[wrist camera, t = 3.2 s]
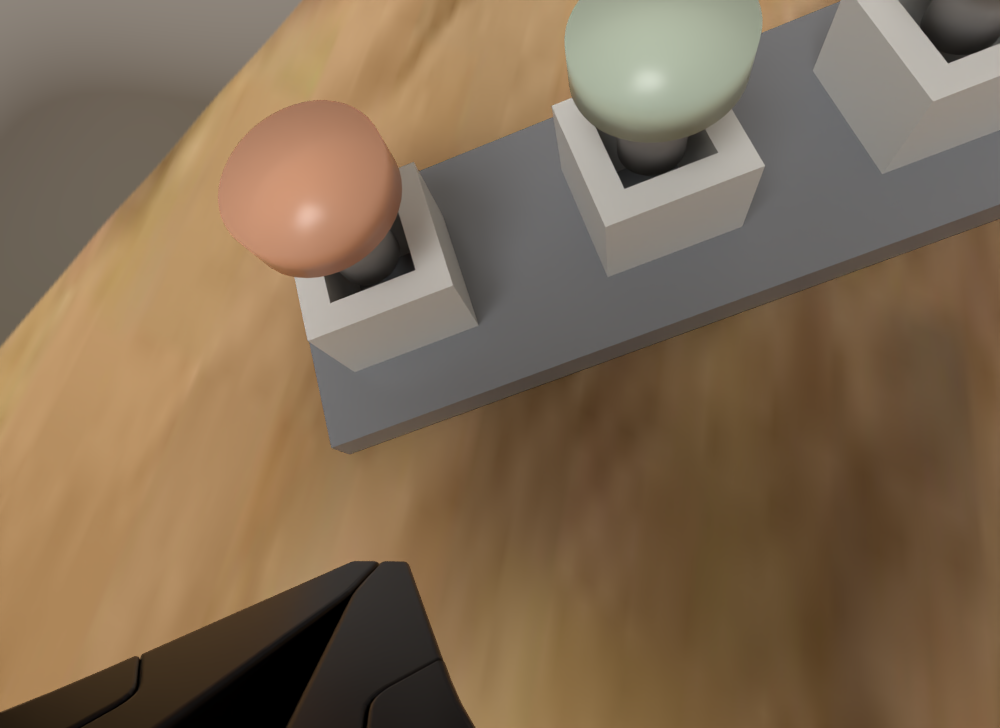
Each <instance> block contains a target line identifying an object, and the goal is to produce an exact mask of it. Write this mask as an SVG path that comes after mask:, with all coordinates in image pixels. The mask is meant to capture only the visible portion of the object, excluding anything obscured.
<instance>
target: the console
mask: <svg viewBox="0 0 1000 728" xmlns="http://www.w3.org/2000/svg"><path fill="white" fill-rule="evenodd" d="M931 2H932V0H841V1H840V2H837V3H835V4H832V5H830V6H827V7H825V8H823V9H820V10H818V11H815V12H813V13H810V14H808V15H805V16H803V17H800V18H798V19H795V20H793V21H790V22H788V23H785V24H783V25H780V26H778V27H775V28H773V29H770V30H768V31H766V32H763V33H761V36H760V41H759V44H758V48H757V52H756V55H755V59H754V63H753V66H752V70H751V74H750V77H749V81H748V83H747V86H746V88H745V91H744V92H743V94H742V96H741V98H740V99H739V100H738V102H737V103H736V104H735V106H734V107H733V108H732V109H731V110H730V111H729V112H728V113H727V114H726V115H725V116H724V117H722V118H721V119H720V120H719V121H717V122H716V123H714V124H713V125H711V126H709V127H708V128H706V129H704V130H702V131H700V132H698V133H696V134H693V135H690V136H688V141H687V147H686V152H685V154H684V157H683V158H682V160H681V161H680V162H679V163H678V164H677V165H676V166H675V167H674V168H673V169H671V170H669V171H667V172H665V173H662V174H658V175H652V176H646V175H640V174H636V173H634V172H632V171H630V170H628V169H627V168H626V167H625V166H623V164H622V163H621V162H620V160H619V158H618V155H617V137H614V136H612V135H609V134H607V133H605V132H603V131H601V130H599V129H598V128H597V127H595V126H594V125H592V124H591V123H590V122H589V121H588V120H587V119H586V118H584V116H583V115H582V114H581V113H580V111H579V110H578V108H577V107H576V105H575V103H574V101H573V98H570V99H568V100H565V101H563V102H560V103H558V104H555V105H553V106H552V111H553V117H552V118H550V119H547V120H545V121H542V122H540V123H537V124H535V125H532V126H530V127H528V128H525V129H523V130H520V131H518V132H515V133H513V134H510V135H508V136H505V137H503V138H500V139H498V140H495V141H493V142H490V143H488V144H485V145H483V146H480V147H478V148H475V149H473V150H471V151H468V152H466V153H463V154H461V155H458V156H456V157H453V158H451V159H448V160H446V161H443V162H441V163H438V164H436V165H433V166H431V167H428V168H426V169H423V170H421V171H418V169H417V167H416V165H415V163H414V162H412V163H410V164H407V165H405V166H402V167H400V168H399V171H400V175H401V179H402V197H401V203H400V207H399V211H398V213H397V216H396V219H395V221H394V223H393V225H392V227H391V229H390V230H391V232H392V233H393V234H394V236H395V237H396V239H397V241H398V243H399V247H400V256H399V260H398V263H397V265H396V267H395V269H394V270H393V271H392V273H391V274H390V275H389V276H388V277H386V278H385V279H384V280H382V281H380V282H378V283H376V284H372V285H365V286H363V285H356V284H354V283H352V282H350V281H348V280H347V279H346V278H345V277H344V276H343V275H342V274H341V273H340V272H337V273H334V274H331V275H327V276H322V277H316V278H298V277H295V282H296V287H297V292H298V296H299V301H300V306H301V311H302V316H303V320H304V325H305V330H306V335H307V340H308V342H309V343H310V348H311V353H312V357H313V362H314V367H315V372H316V377H317V381H318V386H319V391H320V396H321V400H322V405H323V410H324V415H325V420H326V424H327V429H328V434H329V439H330V444H331V448H333V449H336V450H339V451H341V452H344V453H347V454H352V453H354V452H357V451H360V450H363V449H365V448H368V447H371V446H374V445H376V444H379V443H382V442H385V441H387V440H390V439H393V438H396V437H399V436H401V435H404V434H407V433H410V432H412V431H415V430H418V429H421V428H423V427H426V426H429V425H432V424H434V423H437V422H440V421H443V420H445V419H448V418H451V417H454V416H456V415H459V414H462V413H465V412H467V411H470V410H473V409H476V408H479V407H481V406H484V405H487V404H490V403H492V402H495V401H498V400H501V399H503V398H506V397H509V396H512V395H514V394H517V393H520V392H523V391H525V390H528V389H531V388H534V387H536V386H539V385H542V384H545V383H548V382H550V381H553V380H556V379H559V378H561V377H564V376H567V375H570V374H572V373H575V372H578V371H581V370H583V369H586V368H589V367H592V366H594V365H597V364H600V363H603V362H605V361H608V360H611V359H614V358H616V357H619V356H622V355H625V354H628V353H630V352H633V351H636V350H639V349H641V348H644V347H647V346H650V345H652V344H655V343H658V342H661V341H663V340H666V339H669V338H672V337H674V336H677V335H680V334H683V333H685V332H688V331H691V330H694V329H696V328H699V327H702V326H705V325H708V324H710V323H713V322H716V321H719V320H721V319H724V318H727V317H730V316H732V315H735V314H738V313H741V312H743V311H746V310H749V309H752V308H754V307H757V306H760V305H763V304H765V303H768V302H771V301H774V300H777V299H779V298H782V297H785V296H788V295H790V294H793V293H796V292H799V291H801V290H804V289H807V288H810V287H812V286H815V285H818V284H821V283H823V282H826V281H829V280H832V279H834V278H837V277H840V276H843V275H845V274H848V273H851V272H854V271H857V270H859V269H862V268H865V267H868V266H870V265H873V264H876V263H879V262H881V261H884V260H887V259H890V258H892V257H895V256H898V255H901V254H903V253H906V252H909V251H912V250H914V249H917V248H920V247H923V246H925V245H928V244H931V243H934V242H937V241H939V240H942V239H945V238H948V237H950V236H953V235H956V234H959V233H961V232H964V231H967V230H970V229H972V228H975V227H978V226H981V225H983V224H986V223H989V222H992V221H994V220H997V219H1000V37H999V38H998V39H997V41H996V42H995V43H994V44H993V45H991V46H990V47H989V48H987V49H984V50H982V51H979V52H977V53H974V54H968V55H954V54H948V53H944V52H941V51H939V50H937V49H936V48H935V46H934V45H933V44H932V43H931V41H930V40H929V39H928V37H927V36H926V35H925V34H924V32H923V31H922V30H921V29H920V23H921V20H922V18H923V16H924V14H925V12H926V10H927V9H928V7H929V5H930V3H931Z"/></svg>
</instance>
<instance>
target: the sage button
mask: <svg viewBox="0 0 1000 728" xmlns="http://www.w3.org/2000/svg"><path fill="white" fill-rule="evenodd" d="M761 31H762V12H761V7H760V4H759V1H758V0H579V1H578V3H577V4H576V6H575V7H574V9H573V11H572V13H571V15H570V17H569V20H568V23H567V26H566V32H565V53H566V62H567V71H568V80H569V87H570V92H571V96H572V98H573V101H574V103H575V105H576V107H577V108H578V110H579V111H580V113H581V114H582V115H583V116H584V118H586V119H587V120H588V121H589V122H590V123H591V124H592V125H594V126H595V127H597V128H598V129H599V130H601V131H603V132H605V133H607V134H609V135H612V136H614V137H617V155H618V158H619V160H620V162H621V163H622V164H623V166H625V167H626V168H627V169H628V170H630V171H632V172H634V173H636V174H640V175H646V176H652V175H658V174H662V173H665V172H667V171H669V170H671V169H673V168H674V167H675V166H676V165H677V164H678V163H679V162H680V161H681V160H682V158H683V157H684V154H685V152H686V147H687V141H688V136H690V135H693V134H696V133H698V132H700V131H702V130H704V129H706V128H708V127H709V126H711V125H713V124H714V123H716V122H717V121H719V120H720V119H721V118H722V117H724V116H725V115H726V114H727V113H728V112H729V111H730V110H731V109H732V108H733V107H734V106H735V104H736V103H737V102H738V100H739V99H740V98H741V96H742V94H743V92H744V91H745V88H746V86H747V83H748V81H749V77H750V74H751V70H752V66H753V63H754V59H755V55H756V52H757V48H758V44H759V41H760V36H761Z"/></svg>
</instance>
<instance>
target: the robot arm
mask: <svg viewBox="0 0 1000 728" xmlns="http://www.w3.org/2000/svg"><path fill="white" fill-rule="evenodd" d="M0 728H475V726H474V724H473V723H472V721H471V719H470V717H469V716H468V714H467V712H466V710H465V709H464V707H463V705H462V703H461V701H460V699H459V697H458V694H457V692H456V690H455V687H454V685H453V683H452V681H451V678H450V675H449V673H448V670H447V667H446V665H445V663H444V661H443V658H442V655H441V653H440V650H439V647H438V644H437V641H436V639H435V636H434V633H433V630H432V628H431V625H430V622H429V619H428V616H427V614H426V611H425V608H424V605H423V602H422V600H421V597H420V594H419V591H418V589H417V586H416V583H415V580H414V577H413V575H412V572H411V569H410V566H409V564H408V563H407V562H395V561H384V562H382V563H380V564H379V563H378V562H375V561H354V562H350V563H348V564H346V565H343V566H341V567H339V568H336V569H334V570H332V571H330V572H327V573H325V574H323V575H321V576H318V577H316V578H314V579H312V580H309V581H307V582H305V583H302V584H300V585H298V586H296V587H293V588H291V589H289V590H287V591H284V592H282V593H280V594H277V595H275V596H273V597H271V598H268V599H266V600H264V601H262V602H259V603H257V604H255V605H253V606H250V607H248V608H246V609H243V610H241V611H239V612H237V613H234V614H232V615H230V616H228V617H225V618H223V619H221V620H218V621H216V622H214V623H212V624H209V625H207V626H205V627H203V628H200V629H198V630H196V631H193V632H191V633H189V634H187V635H184V636H182V637H180V638H178V639H175V640H173V641H171V642H169V643H166V644H164V645H162V646H159V647H157V648H155V649H153V650H150V651H148V652H146V653H144V654H142V655H141V658H139V657H137V656H134V657H132V658H129V659H127V660H125V661H122V662H120V663H118V664H116V665H113V666H111V667H109V668H107V669H104V670H102V671H100V672H97V673H95V674H92V675H90V676H88V677H85V678H83V679H81V680H78V681H76V682H74V683H71V684H69V685H66V686H64V687H62V688H59V689H57V690H55V691H52V692H50V693H47V694H45V695H42V696H40V697H37V698H35V699H32V700H30V701H27V702H25V703H22V704H20V705H17V706H15V707H12V708H10V709H7V710H5V711H2V712H0Z"/></svg>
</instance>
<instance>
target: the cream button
mask: <svg viewBox="0 0 1000 728" xmlns="http://www.w3.org/2000/svg"><path fill="white" fill-rule="evenodd" d="M920 29H921V30H922V31H923V32H924V34H925V35H926V36H927V37H928V39H929V40H930V41H931V43H932V44H933V45H934V46H935V48H936V49H937V50H939V51H941V52H944V53H948V54H954V55H968V54H974V53H977V52H979V51H982V50H984V49H987V48H989V47H990V46H991V45H993V44H994V43H995V42H996V41H997V39H998V38H999V37H1000V0H932V2H931V3H930V5H929V7H928V9H927V10H926V12H925V14H924V16H923V18H922V20H921V23H920Z"/></svg>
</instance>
